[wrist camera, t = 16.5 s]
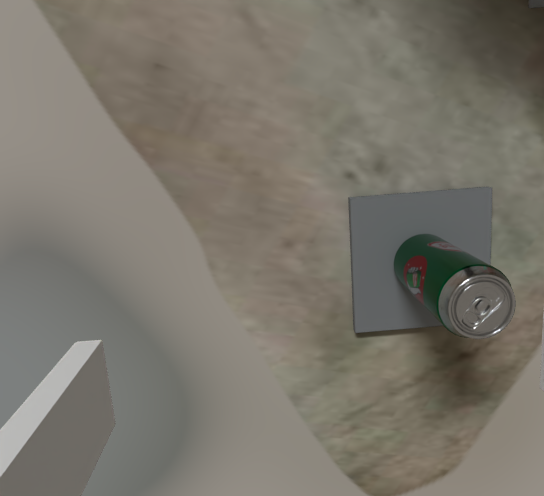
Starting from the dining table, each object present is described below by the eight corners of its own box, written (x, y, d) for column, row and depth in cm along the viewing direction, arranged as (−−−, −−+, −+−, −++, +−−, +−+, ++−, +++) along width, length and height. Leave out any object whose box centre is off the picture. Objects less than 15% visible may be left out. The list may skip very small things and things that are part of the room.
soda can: (461, 254, 43) (538, 298, 32) (424, 299, 44) (485, 359, 32) (416, 220, 43) (478, 252, 31) (379, 267, 43) (426, 316, 32)
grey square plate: (348, 197, 43) (350, 198, 42) (487, 186, 43) (492, 187, 42) (353, 329, 45) (355, 332, 45) (484, 318, 46) (488, 321, 45)
